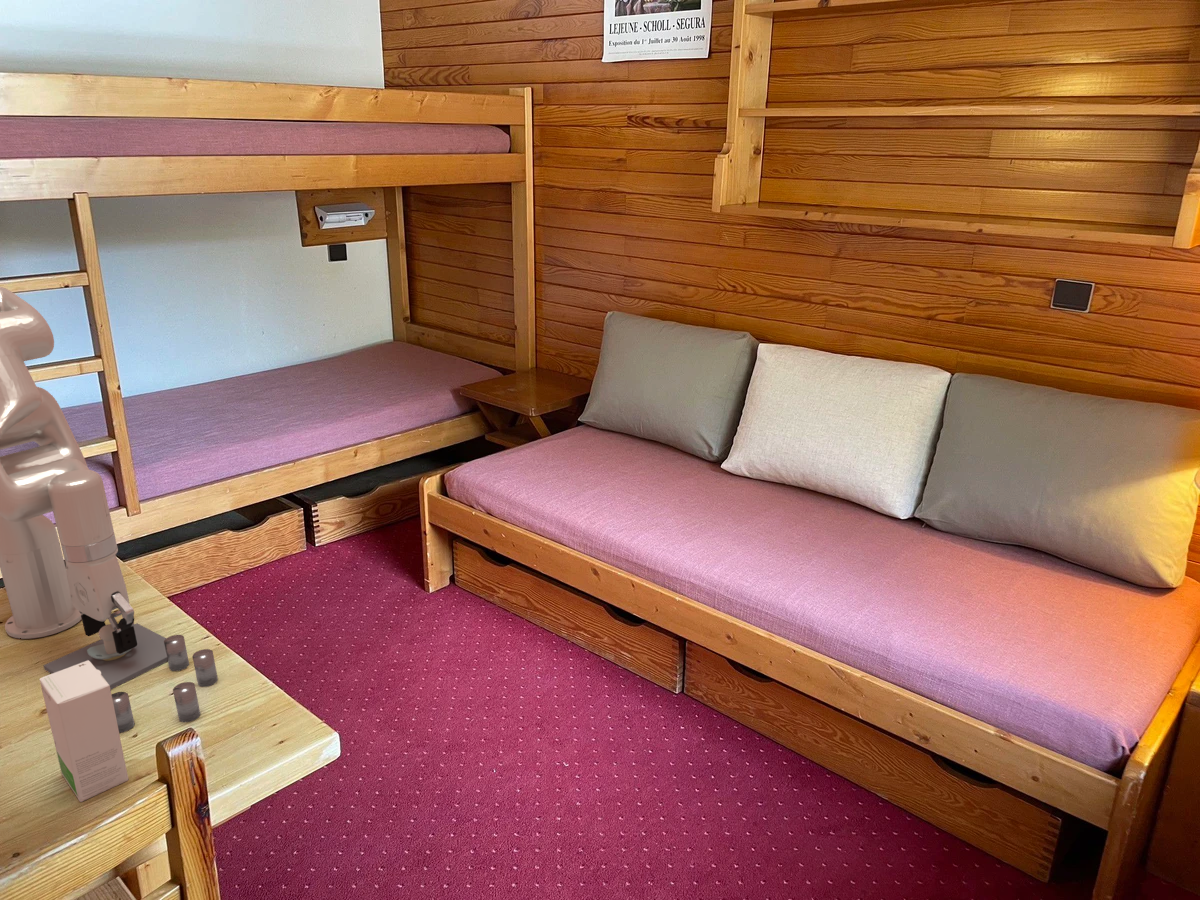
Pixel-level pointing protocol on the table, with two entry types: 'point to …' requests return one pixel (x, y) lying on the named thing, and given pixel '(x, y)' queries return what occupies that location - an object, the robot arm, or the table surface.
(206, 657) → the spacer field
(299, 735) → the table surface
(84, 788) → the skincare box
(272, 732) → the table surface
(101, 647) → the pacifier
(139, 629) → the mat
